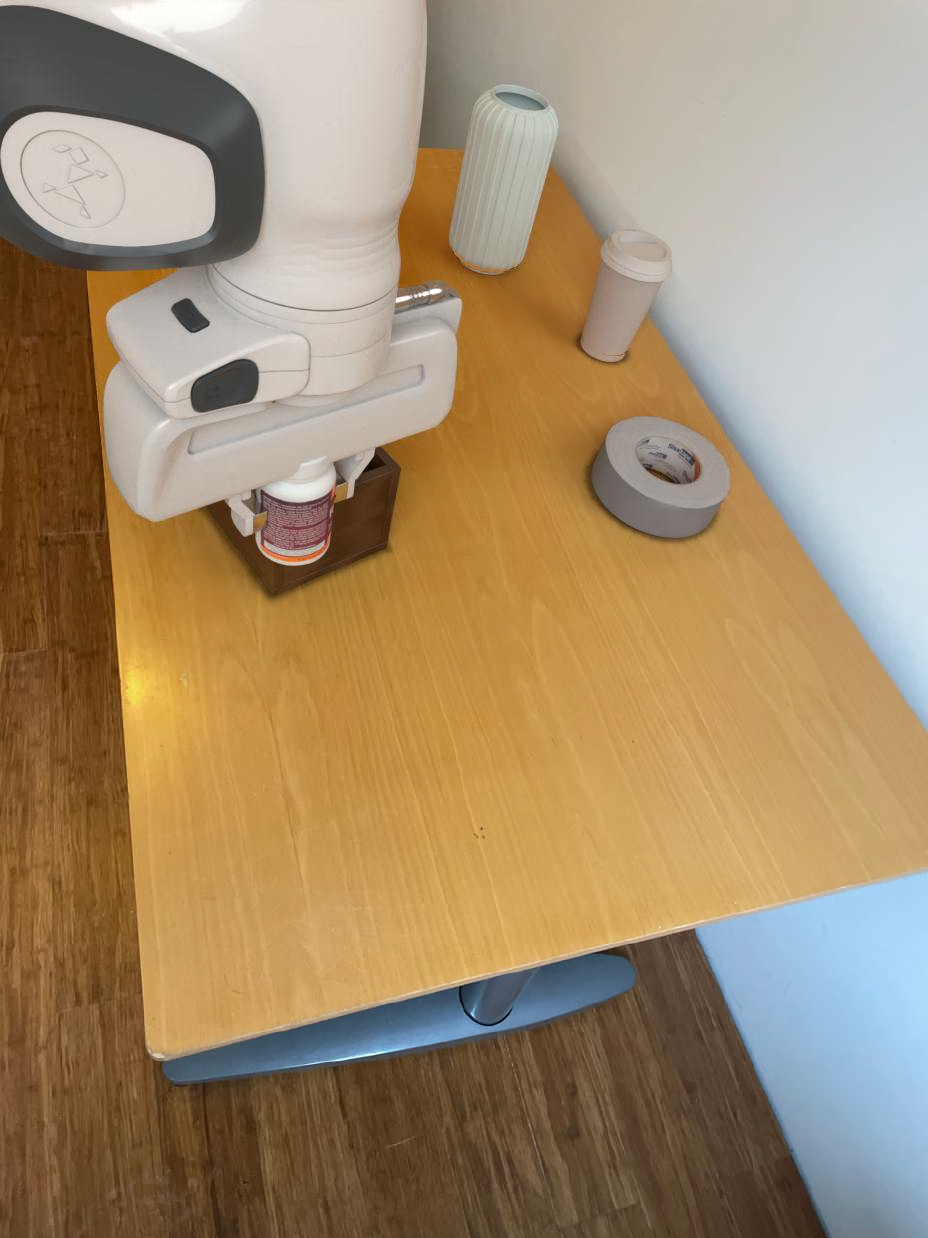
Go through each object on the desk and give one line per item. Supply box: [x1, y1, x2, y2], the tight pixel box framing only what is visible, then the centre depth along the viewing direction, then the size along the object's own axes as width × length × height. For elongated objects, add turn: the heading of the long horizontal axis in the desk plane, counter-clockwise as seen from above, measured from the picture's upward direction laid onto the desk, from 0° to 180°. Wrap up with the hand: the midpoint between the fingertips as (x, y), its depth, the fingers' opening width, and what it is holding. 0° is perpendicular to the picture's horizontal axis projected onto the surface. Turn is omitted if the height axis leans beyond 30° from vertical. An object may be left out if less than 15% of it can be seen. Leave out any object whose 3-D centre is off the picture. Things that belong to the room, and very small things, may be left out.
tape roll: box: [590, 415, 731, 539], centre depth 95 cm, size 15×15×5 cm
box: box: [205, 446, 402, 597], centre depth 78 cm, size 13×13×11 cm
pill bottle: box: [255, 456, 336, 566], centre depth 50 cm, size 5×5×8 cm
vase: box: [448, 83, 560, 276], centre depth 113 cm, size 12×12×22 cm
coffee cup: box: [580, 227, 673, 363], centre depth 108 cm, size 10×10×15 cm
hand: (293, 510), depth 51 cm, fingers closed on pill bottle, 5 cm apart
